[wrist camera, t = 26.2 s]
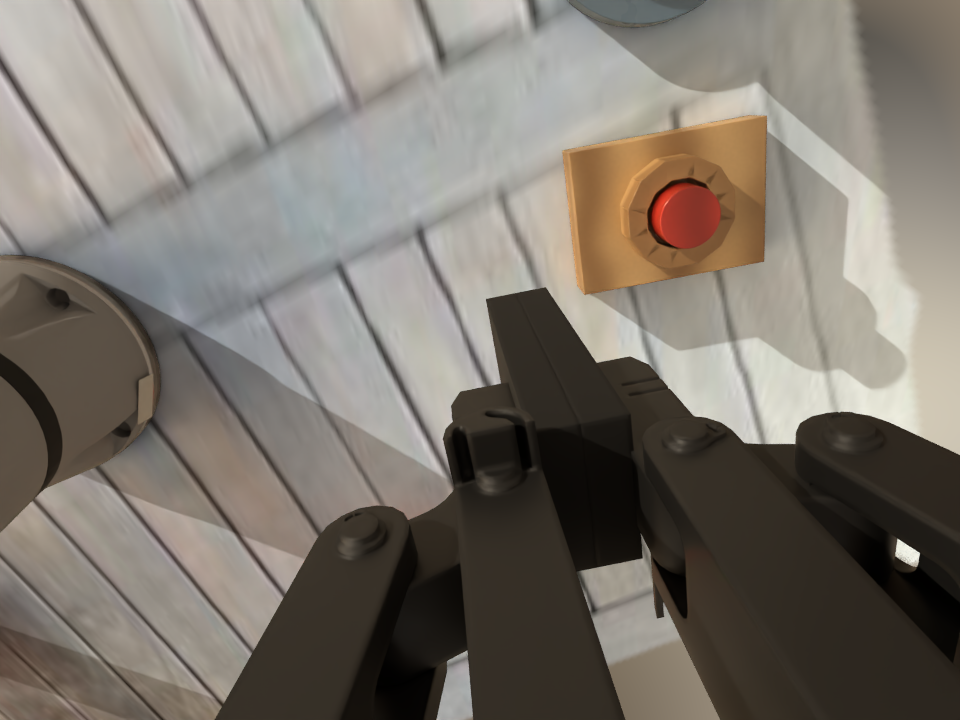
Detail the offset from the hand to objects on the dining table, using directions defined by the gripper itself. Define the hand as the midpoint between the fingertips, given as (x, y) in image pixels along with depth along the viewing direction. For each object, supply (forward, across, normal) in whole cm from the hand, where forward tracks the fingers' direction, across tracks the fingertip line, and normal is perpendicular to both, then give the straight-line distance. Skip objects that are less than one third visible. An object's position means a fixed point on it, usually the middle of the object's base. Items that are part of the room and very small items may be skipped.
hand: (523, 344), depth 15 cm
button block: (+25, +13, -3) cm, 28 cm away
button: (+22, +13, -3) cm, 25 cm away
